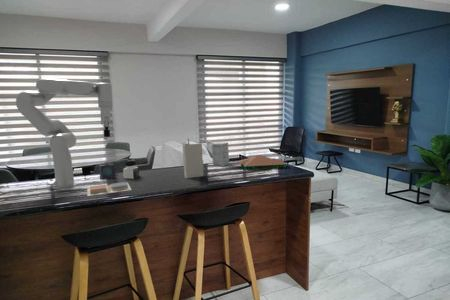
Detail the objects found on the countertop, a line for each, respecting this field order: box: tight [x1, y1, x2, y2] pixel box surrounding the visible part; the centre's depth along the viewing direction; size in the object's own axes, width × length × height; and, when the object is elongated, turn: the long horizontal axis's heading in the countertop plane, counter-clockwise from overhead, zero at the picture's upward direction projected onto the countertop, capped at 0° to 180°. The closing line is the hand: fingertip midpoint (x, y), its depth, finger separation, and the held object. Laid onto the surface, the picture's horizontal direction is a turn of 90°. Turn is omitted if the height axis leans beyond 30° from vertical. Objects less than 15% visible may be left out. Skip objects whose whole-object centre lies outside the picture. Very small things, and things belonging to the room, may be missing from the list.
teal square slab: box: [89, 184, 107, 194], centre depth 164 cm, size 8×2×8 cm
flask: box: [98, 161, 116, 180], centre depth 197 cm, size 9×3×11 cm, turn 110°
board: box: [86, 182, 132, 197], centre depth 167 cm, size 22×18×1 cm
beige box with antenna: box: [182, 137, 205, 179], centre depth 194 cm, size 8×12×26 cm
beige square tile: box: [110, 181, 128, 191], centre depth 168 cm, size 8×2×8 cm
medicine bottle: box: [122, 159, 140, 180], centre depth 193 cm, size 7×7×12 cm
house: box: [237, 155, 288, 171], centre depth 219 cm, size 23×33×8 cm
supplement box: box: [211, 141, 230, 167], centre depth 228 cm, size 10×9×17 cm
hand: (107, 136), depth 175 cm, fingers closed
